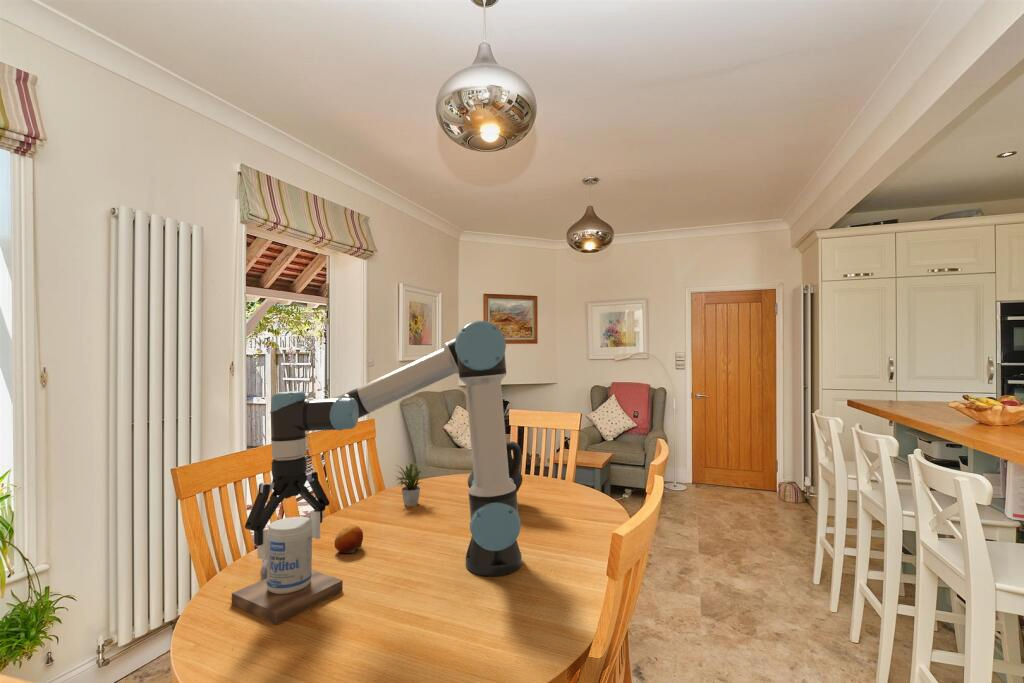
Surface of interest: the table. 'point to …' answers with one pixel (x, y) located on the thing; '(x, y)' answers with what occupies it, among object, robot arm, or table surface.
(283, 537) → the supplement tub
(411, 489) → the house plant
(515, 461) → the pitcher
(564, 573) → the table surface
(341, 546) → the fruit
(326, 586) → the walnut board
